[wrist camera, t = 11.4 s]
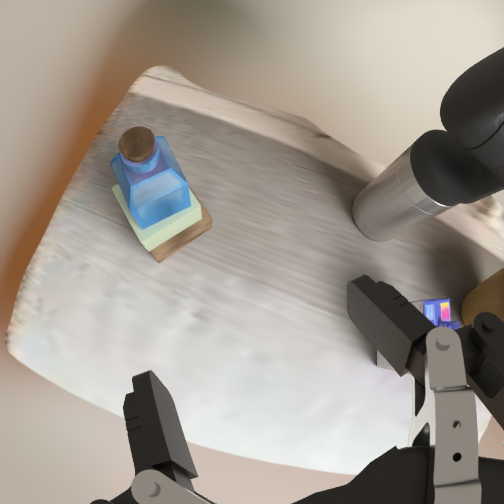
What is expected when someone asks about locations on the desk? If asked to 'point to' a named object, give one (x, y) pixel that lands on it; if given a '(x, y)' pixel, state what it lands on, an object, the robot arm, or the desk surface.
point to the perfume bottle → (149, 177)
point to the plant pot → (485, 299)
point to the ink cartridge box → (435, 313)
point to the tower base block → (183, 236)
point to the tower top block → (161, 222)
